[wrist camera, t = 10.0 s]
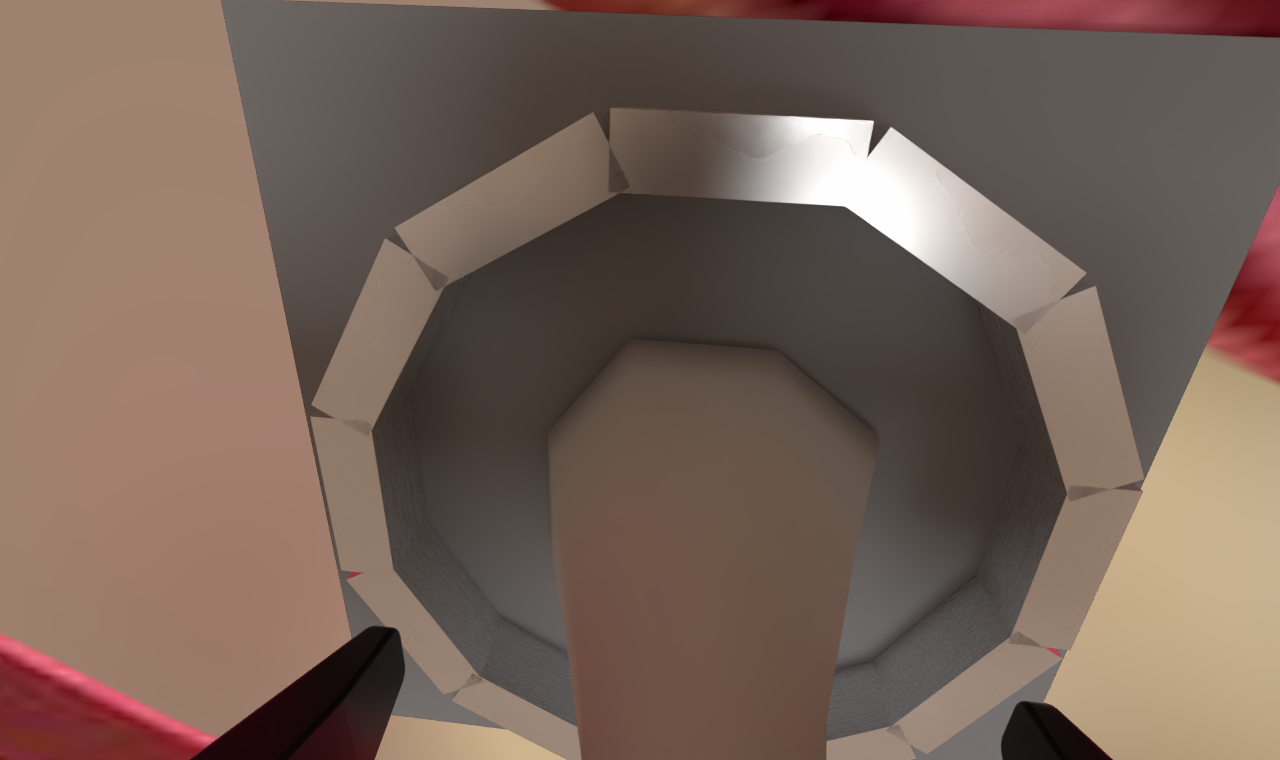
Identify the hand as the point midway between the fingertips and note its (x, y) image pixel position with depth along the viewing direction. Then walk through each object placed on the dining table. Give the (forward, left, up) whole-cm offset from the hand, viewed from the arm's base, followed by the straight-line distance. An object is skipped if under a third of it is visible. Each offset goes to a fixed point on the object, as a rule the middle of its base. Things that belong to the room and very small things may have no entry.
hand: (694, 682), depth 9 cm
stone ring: (0, 0, -6) cm, 6 cm away
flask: (0, 0, -5) cm, 5 cm away
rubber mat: (0, 0, -6) cm, 6 cm away
